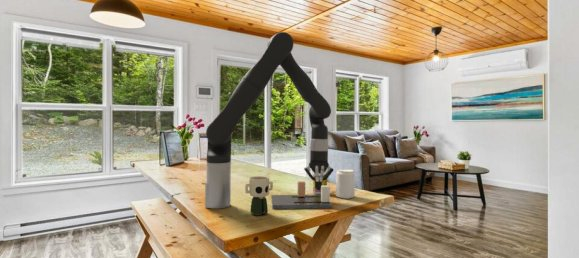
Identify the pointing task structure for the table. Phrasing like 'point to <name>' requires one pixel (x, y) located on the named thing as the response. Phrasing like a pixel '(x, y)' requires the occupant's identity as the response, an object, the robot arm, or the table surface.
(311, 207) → the board
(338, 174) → the beverage can
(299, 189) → the terracotta fader
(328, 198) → the block
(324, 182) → the supplement bottle
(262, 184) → the character mug
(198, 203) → the table surface
